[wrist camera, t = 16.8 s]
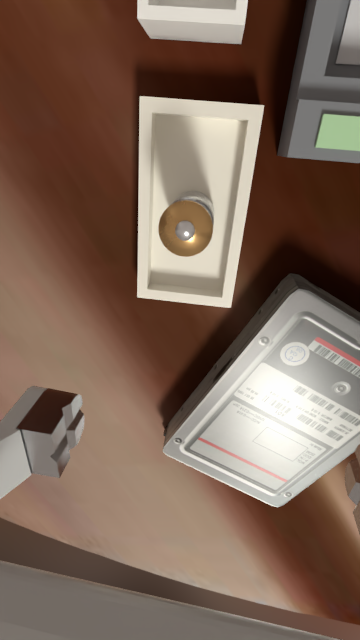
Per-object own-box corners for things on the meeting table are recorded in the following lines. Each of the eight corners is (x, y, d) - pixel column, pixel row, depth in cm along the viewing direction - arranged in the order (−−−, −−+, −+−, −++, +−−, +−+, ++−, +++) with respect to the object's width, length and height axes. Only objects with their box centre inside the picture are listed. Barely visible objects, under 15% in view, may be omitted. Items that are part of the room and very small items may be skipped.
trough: (260, 108, 27) (264, 105, 24) (230, 297, 35) (230, 307, 33) (146, 99, 27) (139, 95, 25) (142, 287, 35) (137, 297, 33)
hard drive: (164, 426, 45) (159, 452, 42) (289, 268, 33) (298, 284, 29) (273, 479, 48) (277, 509, 44) (426, 352, 36) (451, 378, 32)
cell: (217, 193, 29) (216, 205, 22) (211, 237, 31) (208, 261, 24) (173, 188, 30) (159, 198, 23) (169, 232, 31) (155, 254, 25)
